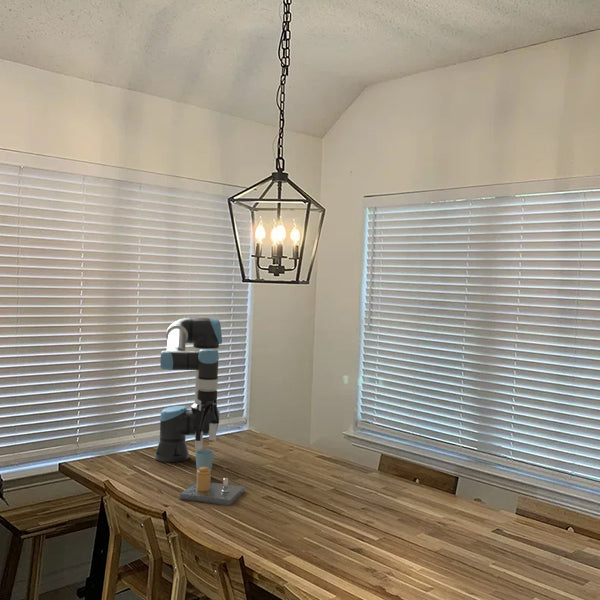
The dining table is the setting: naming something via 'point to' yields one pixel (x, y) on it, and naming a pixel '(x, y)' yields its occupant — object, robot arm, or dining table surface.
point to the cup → (204, 458)
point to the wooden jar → (203, 479)
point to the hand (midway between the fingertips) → (205, 444)
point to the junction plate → (214, 493)
